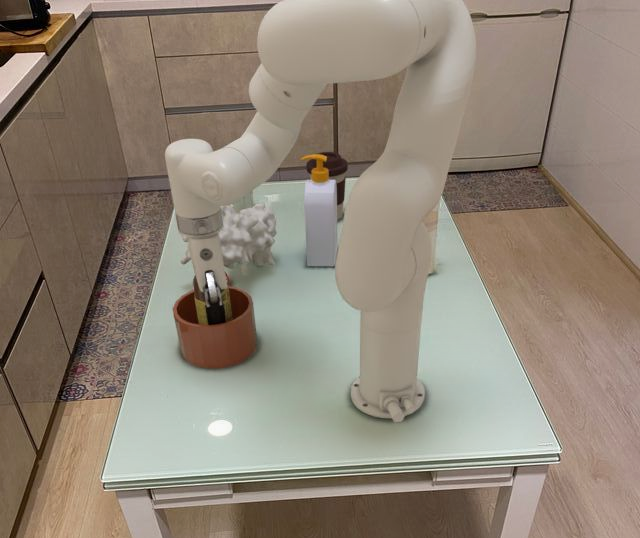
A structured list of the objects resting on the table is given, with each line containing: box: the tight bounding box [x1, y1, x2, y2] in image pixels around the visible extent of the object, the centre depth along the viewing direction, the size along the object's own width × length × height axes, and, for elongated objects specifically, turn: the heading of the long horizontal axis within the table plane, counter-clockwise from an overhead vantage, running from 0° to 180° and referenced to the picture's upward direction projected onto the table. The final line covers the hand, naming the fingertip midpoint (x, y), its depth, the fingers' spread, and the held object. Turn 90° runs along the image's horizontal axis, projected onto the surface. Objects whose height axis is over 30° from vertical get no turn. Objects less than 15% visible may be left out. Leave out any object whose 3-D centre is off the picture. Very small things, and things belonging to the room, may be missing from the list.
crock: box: [172, 285, 258, 370], centre depth 125 cm, size 14×14×9 cm
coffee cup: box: [306, 151, 349, 221], centre depth 165 cm, size 10×10×15 cm
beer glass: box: [231, 190, 256, 214], centre depth 169 cm, size 7×7×15 cm
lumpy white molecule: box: [180, 203, 278, 286], centre depth 142 cm, size 20×18×25 cm
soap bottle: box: [300, 153, 339, 267], centre depth 145 cm, size 9×7×23 cm
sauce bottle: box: [192, 253, 233, 325], centre depth 120 cm, size 7×6×20 cm
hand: (214, 311), depth 122 cm, fingers open, 8 cm apart
